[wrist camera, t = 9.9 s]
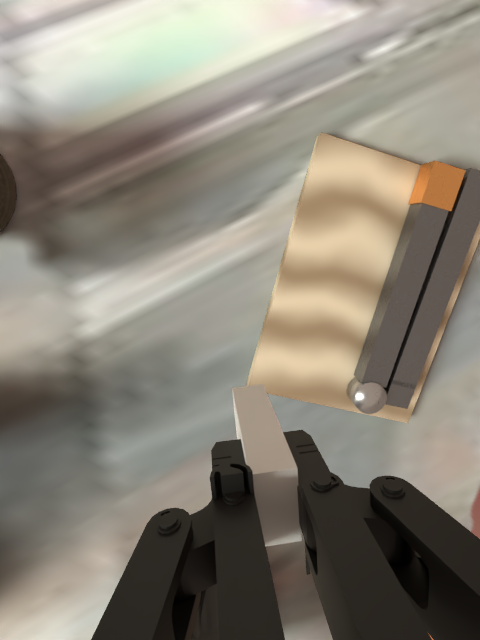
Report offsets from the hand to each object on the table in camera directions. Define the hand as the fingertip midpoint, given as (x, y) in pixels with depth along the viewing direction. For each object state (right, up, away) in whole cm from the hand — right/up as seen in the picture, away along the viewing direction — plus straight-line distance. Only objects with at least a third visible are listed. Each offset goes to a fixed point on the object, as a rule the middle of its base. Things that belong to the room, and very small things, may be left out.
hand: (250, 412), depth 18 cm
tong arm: (+17, +7, +23) cm, 30 cm away
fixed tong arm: (+20, +7, +24) cm, 32 cm away
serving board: (+14, +8, +25) cm, 29 cm away
